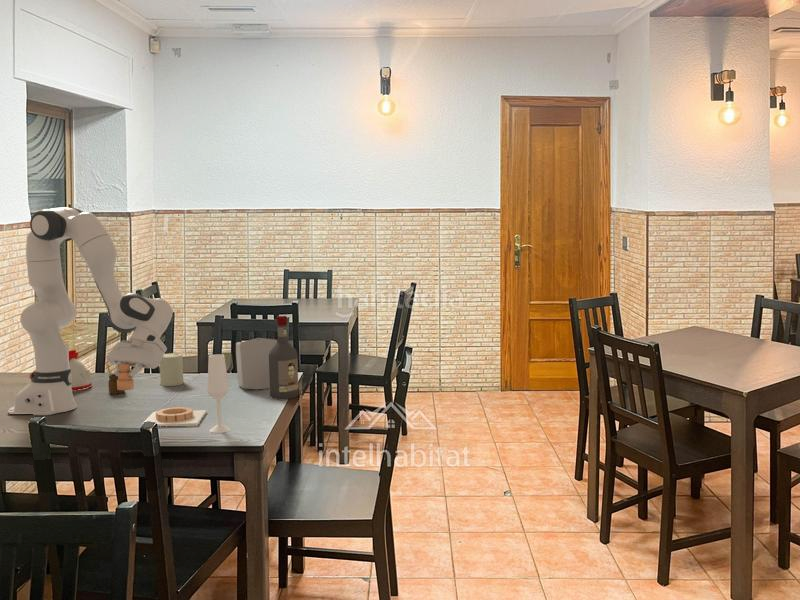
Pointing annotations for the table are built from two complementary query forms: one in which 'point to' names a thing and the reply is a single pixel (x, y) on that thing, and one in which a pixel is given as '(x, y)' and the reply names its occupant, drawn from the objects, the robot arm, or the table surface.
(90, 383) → the kitchen timer
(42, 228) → the robot arm
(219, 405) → the champagne flute
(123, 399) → the table surface
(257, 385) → the electrical switch box
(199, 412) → the collar plate
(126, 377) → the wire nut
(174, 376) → the can
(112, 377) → the utensil holder
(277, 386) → the liquor
